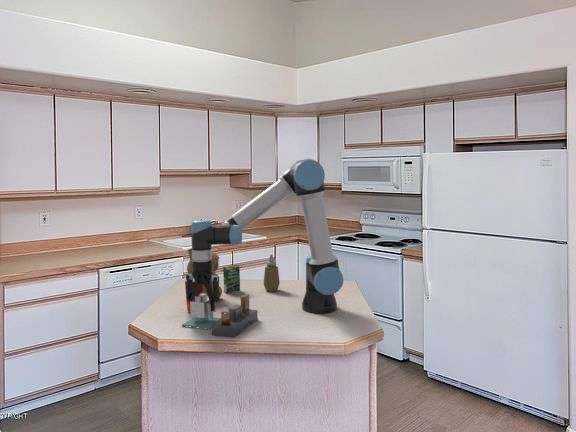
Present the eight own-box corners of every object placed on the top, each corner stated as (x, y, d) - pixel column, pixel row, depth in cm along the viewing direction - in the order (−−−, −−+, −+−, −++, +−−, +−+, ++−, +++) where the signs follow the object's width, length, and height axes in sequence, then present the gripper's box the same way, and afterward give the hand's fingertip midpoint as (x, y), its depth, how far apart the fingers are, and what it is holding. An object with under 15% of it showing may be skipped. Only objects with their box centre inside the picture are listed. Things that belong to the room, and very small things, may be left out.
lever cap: (215, 311, 194) (215, 292, 193) (204, 318, 185) (203, 297, 184) (202, 310, 196) (201, 290, 195) (190, 316, 187) (190, 296, 186)
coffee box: (226, 293, 237) (225, 267, 236) (223, 292, 239) (222, 266, 238) (240, 291, 241) (240, 265, 240) (237, 289, 244) (237, 264, 243)
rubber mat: (223, 320, 194) (223, 318, 194) (209, 329, 183) (209, 327, 183) (197, 317, 198) (197, 315, 198) (181, 326, 187) (181, 324, 187)
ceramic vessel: (231, 297, 229) (230, 245, 226) (202, 307, 213) (200, 251, 210) (204, 292, 238) (203, 242, 236) (174, 302, 222) (173, 248, 220)
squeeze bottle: (270, 287, 248) (270, 253, 246) (283, 290, 243) (282, 254, 241) (260, 290, 242) (259, 255, 240) (272, 293, 236) (272, 257, 235)
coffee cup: (205, 308, 212) (204, 274, 211) (202, 313, 204) (202, 278, 202) (186, 308, 212) (185, 274, 210) (182, 313, 204) (181, 278, 202)
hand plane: (257, 319, 195) (257, 295, 194) (234, 337, 174) (233, 310, 173) (237, 317, 198) (236, 293, 197) (211, 335, 177) (211, 308, 176)
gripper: (228, 259, 189) (229, 317, 191) (185, 257, 195) (187, 313, 197) (219, 263, 182) (220, 323, 184) (175, 260, 188) (177, 318, 190)
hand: (203, 318), depth 190 cm, fingers closed on lever cap, 6 cm apart
